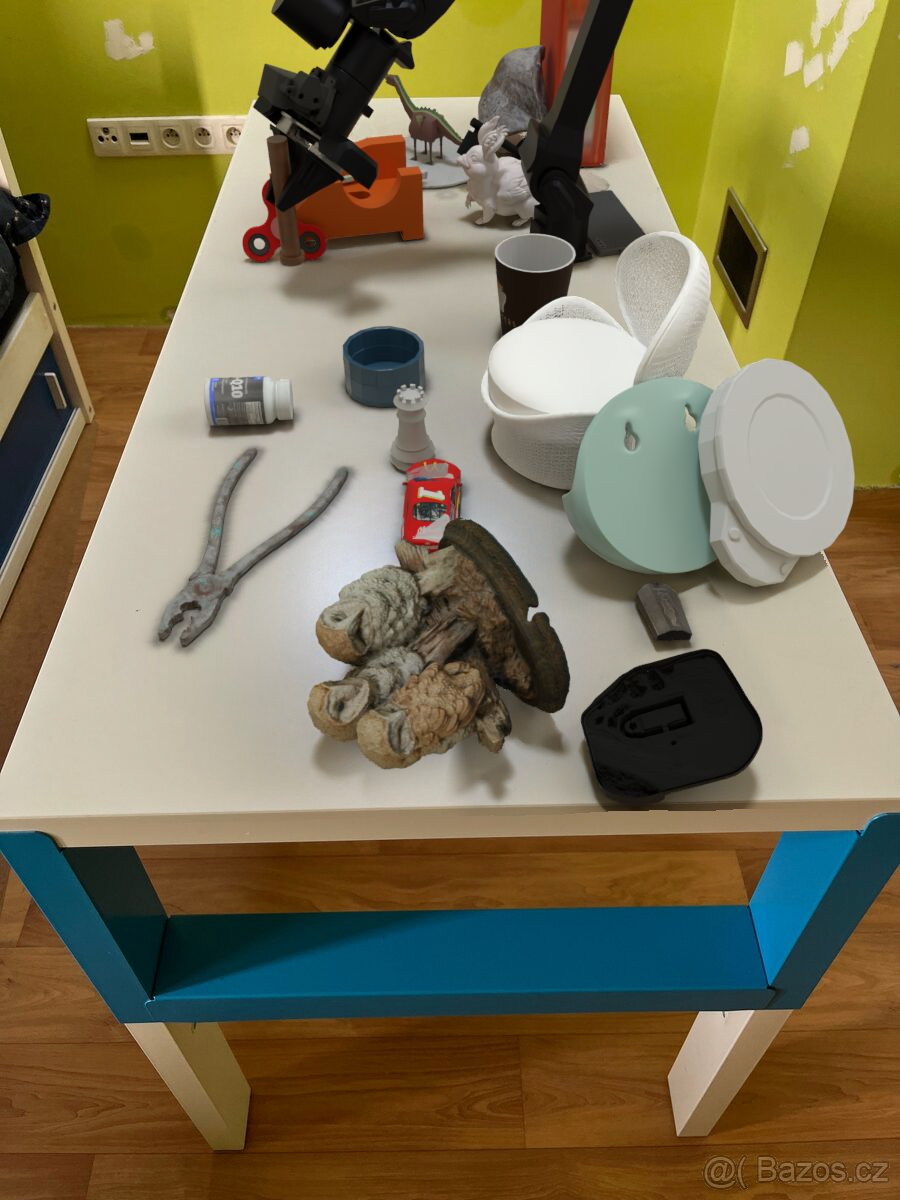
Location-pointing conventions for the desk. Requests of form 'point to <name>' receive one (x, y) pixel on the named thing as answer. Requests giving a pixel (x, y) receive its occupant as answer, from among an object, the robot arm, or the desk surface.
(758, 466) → the lid
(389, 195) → the tape dispenser
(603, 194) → the smartphone
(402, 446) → the rook chess piece
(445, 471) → the race car
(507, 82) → the fossil
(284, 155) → the brown rod with base
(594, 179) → the stone
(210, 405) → the pill bottle
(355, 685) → the owl figurine
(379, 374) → the bowl
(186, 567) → the desk surface
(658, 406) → the planter
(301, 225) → the toy
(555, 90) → the file binder
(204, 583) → the pliers
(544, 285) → the coffee mug
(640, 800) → the black plastic housing
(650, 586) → the block
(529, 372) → the chair
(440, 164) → the dinosaur
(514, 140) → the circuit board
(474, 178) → the figurine
